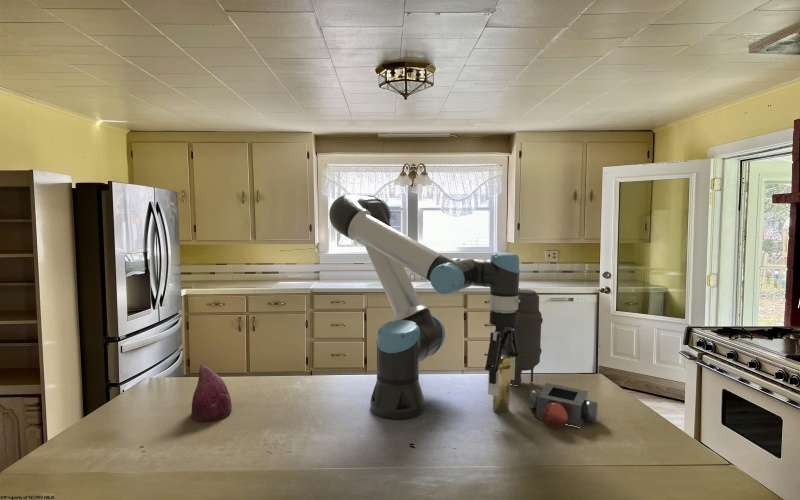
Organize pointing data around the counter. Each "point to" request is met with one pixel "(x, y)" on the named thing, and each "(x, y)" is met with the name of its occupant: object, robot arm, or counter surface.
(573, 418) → the valve body
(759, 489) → the counter surface
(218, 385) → the vegetable
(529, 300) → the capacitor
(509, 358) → the fitting
